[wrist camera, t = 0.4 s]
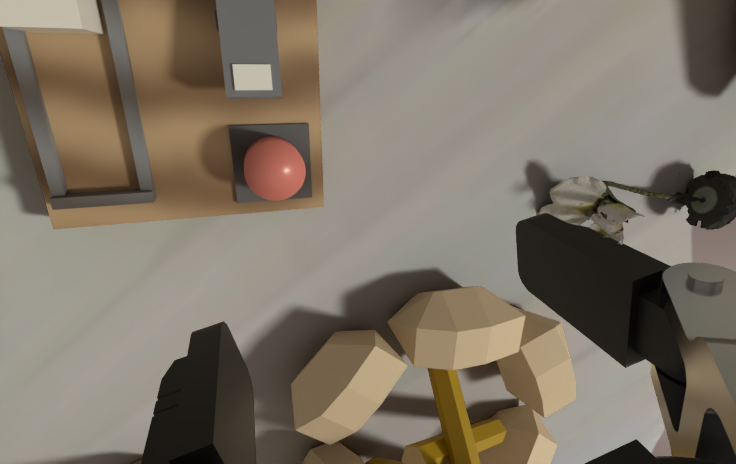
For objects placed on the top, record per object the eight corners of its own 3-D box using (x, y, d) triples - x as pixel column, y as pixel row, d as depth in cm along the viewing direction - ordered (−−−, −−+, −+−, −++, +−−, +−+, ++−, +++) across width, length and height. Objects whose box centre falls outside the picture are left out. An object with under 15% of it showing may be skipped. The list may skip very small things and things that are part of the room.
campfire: (275, 291, 40) (296, 429, 25) (564, 258, 49) (711, 343, 34) (290, 530, 52) (311, 719, 37) (518, 468, 62) (609, 600, 46)
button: (240, 136, 31) (240, 142, 28) (299, 134, 32) (304, 140, 30) (246, 192, 33) (247, 203, 30) (302, 188, 34) (307, 198, 31)
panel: (-22, -94, 25) (-62, -119, 21) (308, -64, 30) (316, -80, 27) (66, 218, 32) (46, 235, 29) (318, 198, 37) (326, 211, 34)
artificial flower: (668, 224, 54) (731, 276, 46) (513, 207, 49) (553, 262, 41) (714, 163, 48) (794, 209, 41) (545, 138, 44) (599, 184, 36)
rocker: (209, -62, 26) (207, -76, 25) (267, -57, 27) (268, -70, 26) (227, 100, 28) (225, 96, 26) (280, 99, 29) (282, 95, 27)
